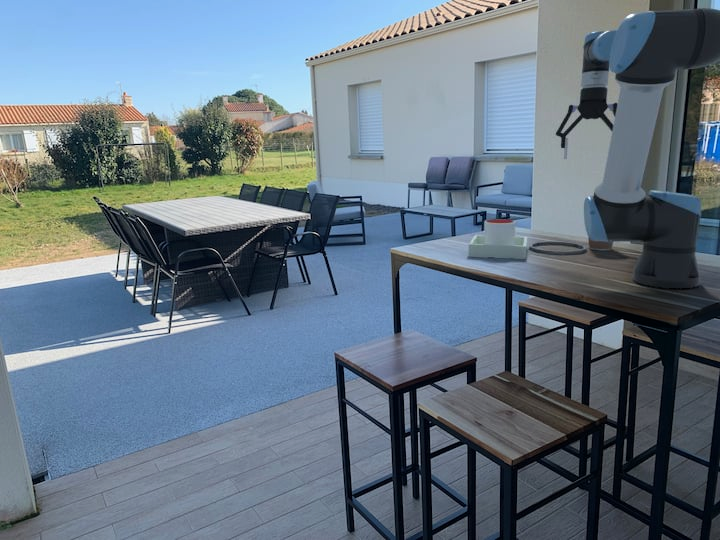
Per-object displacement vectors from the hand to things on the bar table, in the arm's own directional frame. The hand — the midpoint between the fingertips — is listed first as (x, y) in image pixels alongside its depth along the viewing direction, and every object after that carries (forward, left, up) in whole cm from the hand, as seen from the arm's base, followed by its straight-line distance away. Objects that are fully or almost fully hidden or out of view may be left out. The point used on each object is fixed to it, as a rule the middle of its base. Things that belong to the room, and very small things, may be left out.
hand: (588, 158), depth 161 cm
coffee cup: (+11, -7, -31) cm, 34 cm away
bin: (-3, +26, -31) cm, 40 cm away
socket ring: (+7, +7, -31) cm, 32 cm away
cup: (-3, +26, -30) cm, 40 cm away
